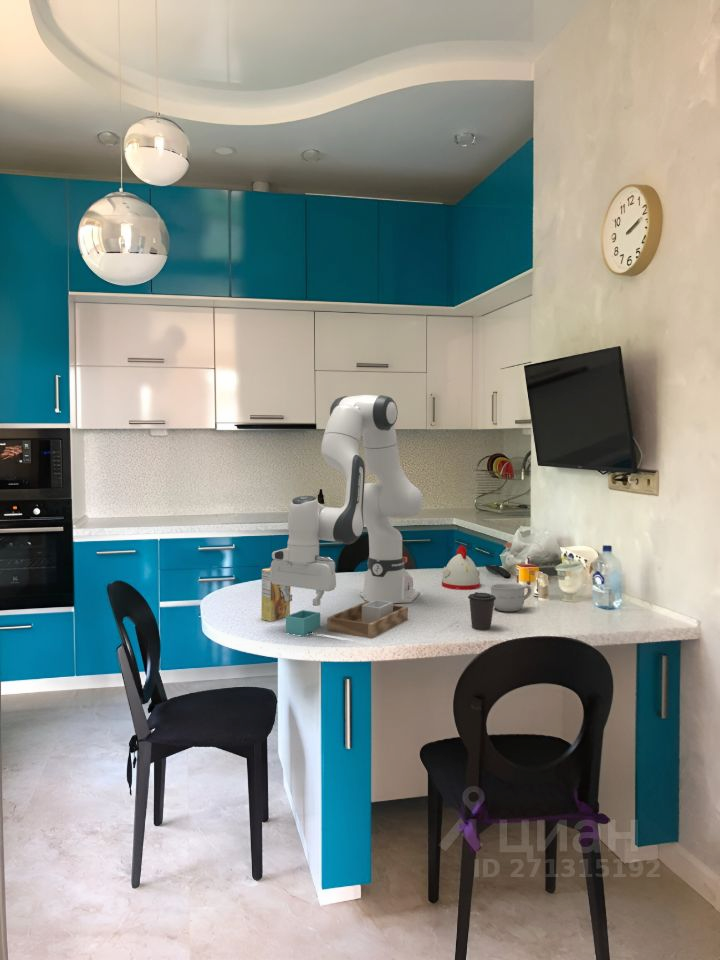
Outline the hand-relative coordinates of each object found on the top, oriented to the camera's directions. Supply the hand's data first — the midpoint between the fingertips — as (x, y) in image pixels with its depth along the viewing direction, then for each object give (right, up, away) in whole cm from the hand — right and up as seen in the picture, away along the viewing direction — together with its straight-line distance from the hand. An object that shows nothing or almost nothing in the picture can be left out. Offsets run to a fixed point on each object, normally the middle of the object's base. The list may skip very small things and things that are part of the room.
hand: (302, 603), depth 206 cm
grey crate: (+21, -7, +10) cm, 25 cm away
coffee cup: (+51, -9, +7) cm, 53 cm away
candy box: (-9, -7, +15) cm, 19 cm away
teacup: (+65, -7, +29) cm, 71 cm away
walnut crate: (+19, -8, +6) cm, 21 cm away
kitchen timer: (+53, -5, +64) cm, 83 cm away
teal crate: (0, -8, +1) cm, 8 cm away
